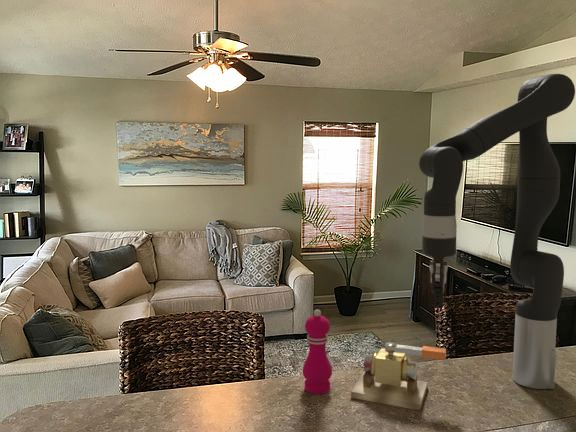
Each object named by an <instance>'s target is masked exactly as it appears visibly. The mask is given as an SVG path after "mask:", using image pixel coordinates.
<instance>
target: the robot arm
mask: <svg viewBox="0 0 576 432" xmlns="http://www.w3.org/2000/svg"><path fill="white" fill-rule="evenodd" d="M517 94H518V95H517V102H515V103H513V104H511V105H509V106H507V107H505V108H502V109H500V110H498V111H496V112H493V113H490V114H488V115H486V116H484V117H483V118H481V119H479V120H477V121H476V122H473V123H472V124H471V125H469V126H468V127H466V128H464V129H463V130H461V131H460V132H459V133H457V134H455V135H453V136H450V137H449V138H448V137H447V138H446V139H444V140H442V141H440V142H437V143H435V144H433V145H431V146H429V147H428V148H427V149H426V150H425V151H424V152H423V153H422V154H421V156H420V158H419V162H418V167H419V169H420V171H421V173H422V174H423V175H425V176H426V177H428V178H432V179H433V180H432V185H431V188H430V189H427V190H426V191H425V192H424V196H423V197H424V198H423V219H422V231H421V232H422V233H421V234H422V235H421V236H422V244H421V245H422V246H421V251H422V252H421V253H422V254H423V255H425V256H426V257H432V260H430V262H429V271H430V284H431V292H432V307H433V308H434V309H443V307H444V292H445V285H446V283H447V272H448V268H449V265H448V264H449V262H448V261H445V258H446V257H447V258H449V257H450V258H451V257H454V256H455V255H456V254H457V228H458V227H457V225H458V223H457V216H456V215H457V214H456V213H457V212H456V211H457V208H456V207H457V194H458V193H459V192H458V191H459V188H460V184H461V181H462V176H463V172H464V162H465V161H470V160H474V159H477V158H479V157H480V156H482V155H483V154H486V152H488V151H490V150H492V149H493V148H494V147H495V146H498V145H499V144H501V143H502V142H503V141H505V140H507V139H509V138H510V137H512V136H513V135H516V134H517V133H519V137H518V138H519V140H518V141H519V143H518V144H519V145H518V173H517V189H516V191H517V192H516V193H517V196H516V197H517V199H516V213H515V214H516V215H515V225H514V226H515V229H514V235H513V242H512V249H511V253H510V254H511V255H510V263H509V264H510V266H509V269H510V275H511V278H512V280H513V281H514V282H515V283H517V284H519V285H520V286H524V287H529V288H532V289H533V290H532V294H531V295H532V296H531V298H526V299H521V300H518V301H517V302H516V305H515V316H514V317H515V319H514V322H515V323H514V339H513V341H514V342H513V357H512V358H513V361H512V379H513V381H514V382H515V383H517V385H520V386H523V387H525V388H530V389H534V390H546V389H550V390H551V389H552V390H555V382H556V381H555V380H556V379H555V378H556V366H557V365H556V364H557V363H556V362H557V349H556V341H557V340H556V338H557V337H556V336H557V322H558V319H557V318H558V313H559V312H558V311H559V309H560V307H561V304H562V295H563V287H564V278H565V266H564V263H563V261H562V259H561V257H560V256H559V255H558V254H555V253H554V254H553V253H550V252H545V251H540V250H538V246H539V245H538V244H539V238H540V237H539V236H540V231H541V229H542V227H543V224H544V223H545V222H546V220H547V218H548V217H549V215H551V212H552V211H554V208H555V207H556V205H557V203H558V202H559V198H560V191H561V190H560V188H561V185H560V184H561V167H560V165H559V162H558V160H557V158H556V155H555V153H554V151H553V149H552V147H551V144H550V142H549V141H550V140H549V139H548V118H549V117H551V116H553V115H556V114H559V113H561V112H564V111H565V110H566V109H568V108H569V107H570V106H571V105H572V103H573V101H574V99H575V95H576V88H575V83H574V82H573V79H571V78H570V77H569V76H568V75H566V74H562V73H551V74H550V73H549V74H545V75H540V76H535V77H532V78H530V79H527V80H525V81H524V82H523V83H522V84H521V86H520V87H519V90H518V93H517Z"/></svg>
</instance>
